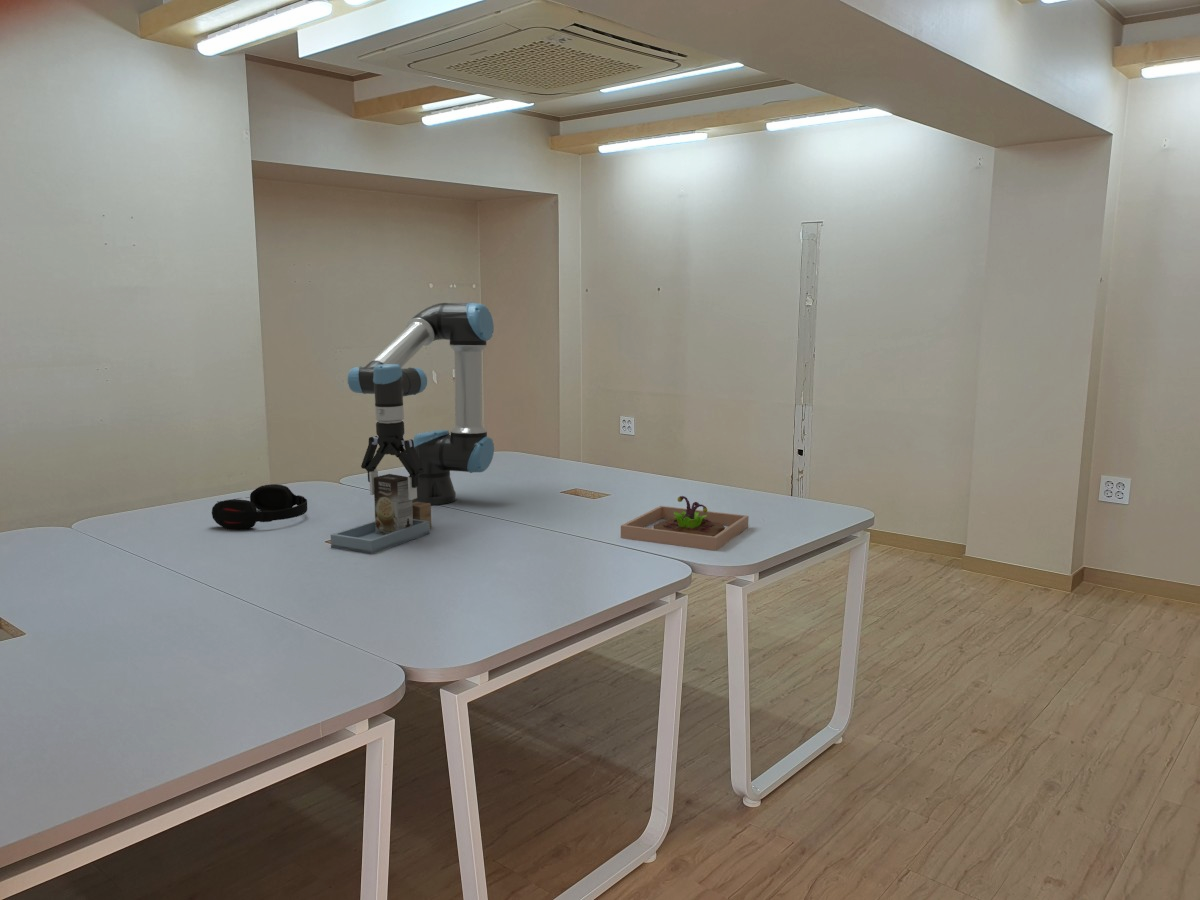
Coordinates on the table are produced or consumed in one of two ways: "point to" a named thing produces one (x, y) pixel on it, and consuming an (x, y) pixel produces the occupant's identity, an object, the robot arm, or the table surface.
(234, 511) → the headset
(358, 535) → the tray
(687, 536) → the plant saucer
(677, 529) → the plant
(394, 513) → the coffee box
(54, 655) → the table surface
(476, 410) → the robot arm
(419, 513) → the walnut block
